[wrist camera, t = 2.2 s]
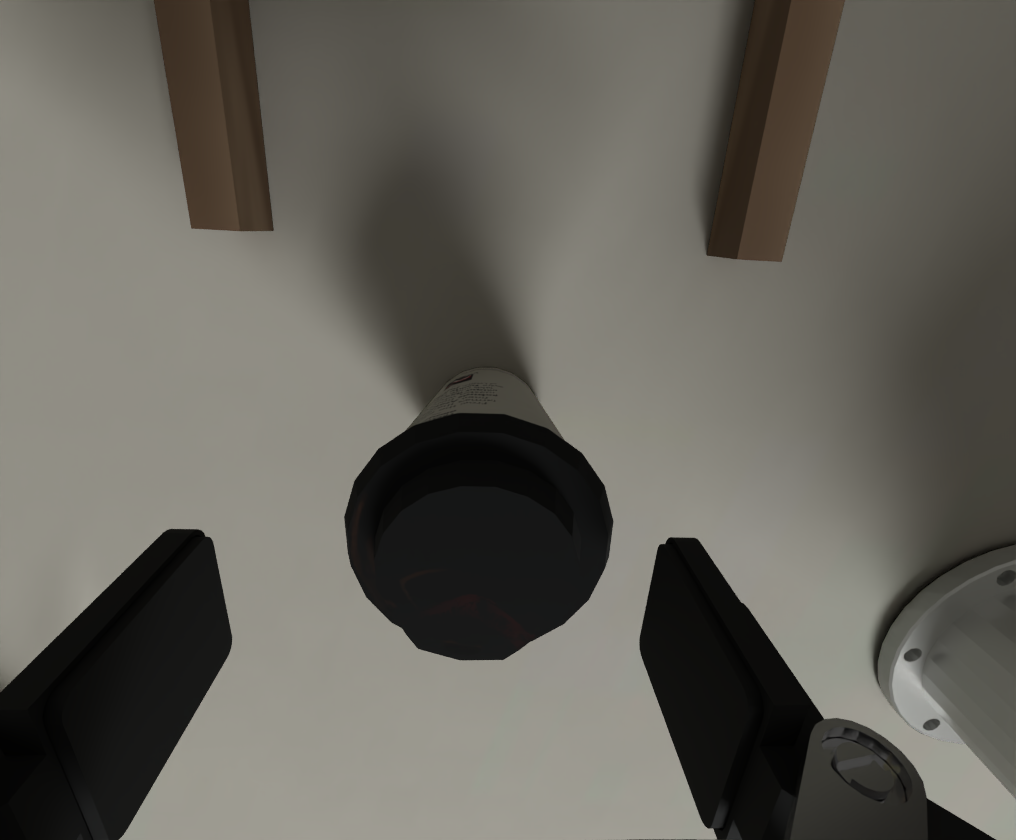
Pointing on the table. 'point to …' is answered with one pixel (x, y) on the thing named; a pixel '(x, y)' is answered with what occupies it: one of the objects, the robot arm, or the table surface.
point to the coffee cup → (478, 522)
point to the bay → (747, 168)
